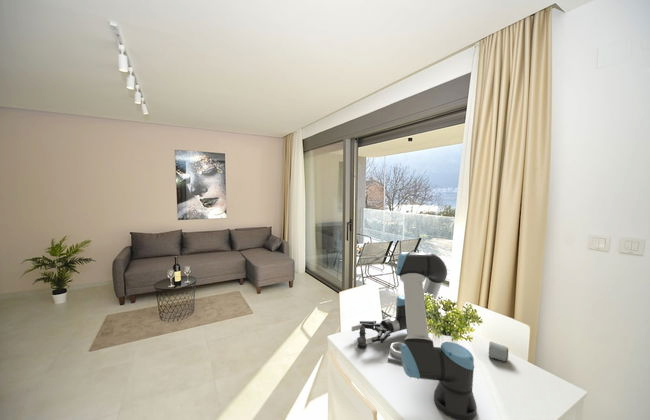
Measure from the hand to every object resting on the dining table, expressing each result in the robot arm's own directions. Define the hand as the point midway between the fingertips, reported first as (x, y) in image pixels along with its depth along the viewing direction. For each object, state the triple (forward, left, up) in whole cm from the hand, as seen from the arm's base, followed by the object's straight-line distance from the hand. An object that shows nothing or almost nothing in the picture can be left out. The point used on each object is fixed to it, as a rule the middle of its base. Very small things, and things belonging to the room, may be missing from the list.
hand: (358, 334), depth 143 cm
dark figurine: (+2, -2, -7) cm, 8 cm away
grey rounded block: (+21, -68, -7) cm, 72 cm away
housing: (+2, -27, -7) cm, 28 cm away
